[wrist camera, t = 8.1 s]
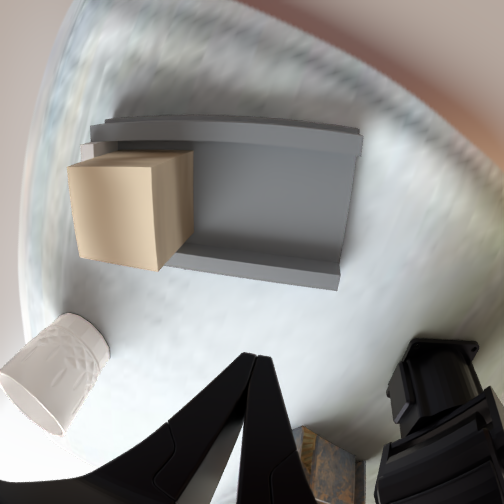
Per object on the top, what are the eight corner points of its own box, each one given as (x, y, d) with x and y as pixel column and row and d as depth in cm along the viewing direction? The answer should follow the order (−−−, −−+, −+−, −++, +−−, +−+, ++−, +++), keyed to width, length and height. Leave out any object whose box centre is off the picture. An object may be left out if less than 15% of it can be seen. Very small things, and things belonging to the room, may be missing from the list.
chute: (357, 128, 15) (367, 132, 12) (334, 274, 19) (336, 304, 16) (111, 118, 18) (79, 123, 15) (120, 244, 22) (94, 265, 19)
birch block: (193, 150, 17) (151, 167, 12) (193, 232, 19) (158, 271, 15) (119, 149, 18) (66, 166, 13) (125, 224, 20) (79, 257, 15)
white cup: (85, 369, 30) (39, 431, 21) (44, 313, 28) (-14, 371, 19) (129, 365, 28) (80, 442, 19) (83, 299, 25) (14, 371, 16)
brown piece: (368, 456, 29) (368, 528, 20) (347, 464, 30) (343, 533, 22) (306, 420, 27) (294, 508, 18) (283, 430, 28) (268, 512, 20)
